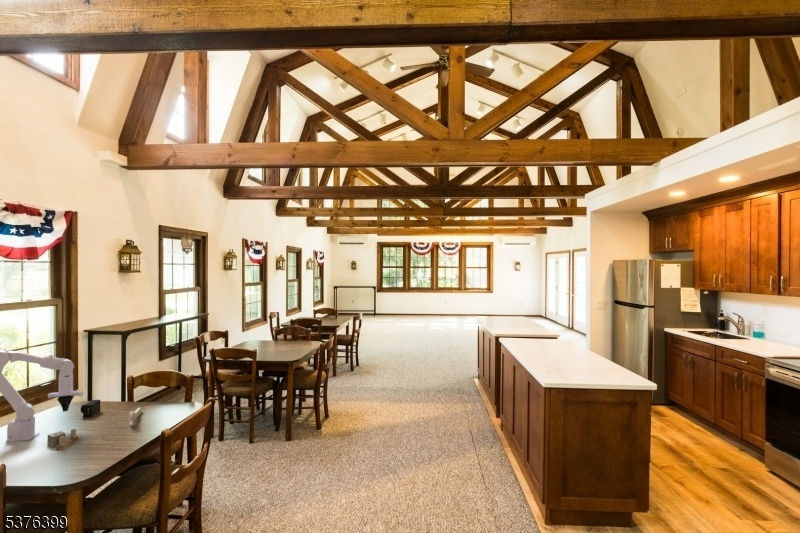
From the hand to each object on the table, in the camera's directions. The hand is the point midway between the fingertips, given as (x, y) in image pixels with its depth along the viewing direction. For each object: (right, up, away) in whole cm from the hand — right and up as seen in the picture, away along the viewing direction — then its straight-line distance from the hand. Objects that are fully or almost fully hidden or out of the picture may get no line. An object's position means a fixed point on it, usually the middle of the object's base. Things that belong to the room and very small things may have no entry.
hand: (65, 410), depth 211 cm
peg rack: (+16, -9, -18) cm, 26 cm away
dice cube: (+10, -9, -18) cm, 23 cm away
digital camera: (-4, -10, +22) cm, 24 cm away
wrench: (+27, -10, +13) cm, 31 cm away
